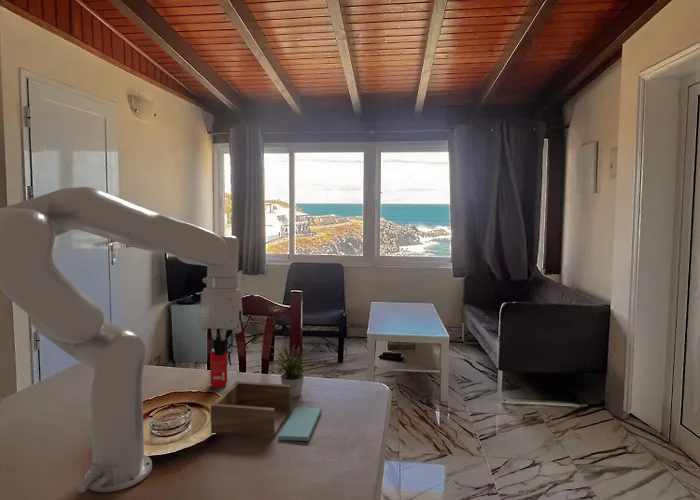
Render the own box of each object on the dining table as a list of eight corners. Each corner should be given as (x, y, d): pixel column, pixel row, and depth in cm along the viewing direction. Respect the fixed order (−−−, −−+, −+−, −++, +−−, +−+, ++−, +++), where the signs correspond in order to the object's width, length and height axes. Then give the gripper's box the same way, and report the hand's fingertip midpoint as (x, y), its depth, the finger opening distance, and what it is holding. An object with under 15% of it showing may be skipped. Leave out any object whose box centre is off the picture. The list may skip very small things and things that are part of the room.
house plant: (256, 402, 128) (256, 348, 127) (275, 384, 142) (275, 335, 140) (301, 408, 125) (302, 352, 124) (316, 389, 138) (317, 339, 137)
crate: (273, 441, 106) (273, 410, 106) (211, 436, 108) (210, 405, 108) (290, 412, 122) (290, 385, 121) (236, 408, 124) (236, 381, 123)
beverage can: (207, 387, 139) (206, 350, 138) (216, 381, 144) (216, 346, 143) (221, 389, 137) (221, 352, 136) (230, 383, 142) (230, 347, 141)
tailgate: (278, 440, 106) (308, 440, 105) (278, 436, 106) (308, 436, 105) (295, 410, 122) (321, 411, 121) (295, 407, 122) (321, 408, 121)
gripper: (187, 283, 108) (185, 355, 109) (243, 286, 106) (241, 361, 107) (203, 280, 116) (201, 348, 117) (255, 283, 113) (253, 353, 114)
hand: (220, 354), depth 112 cm, fingers closed
